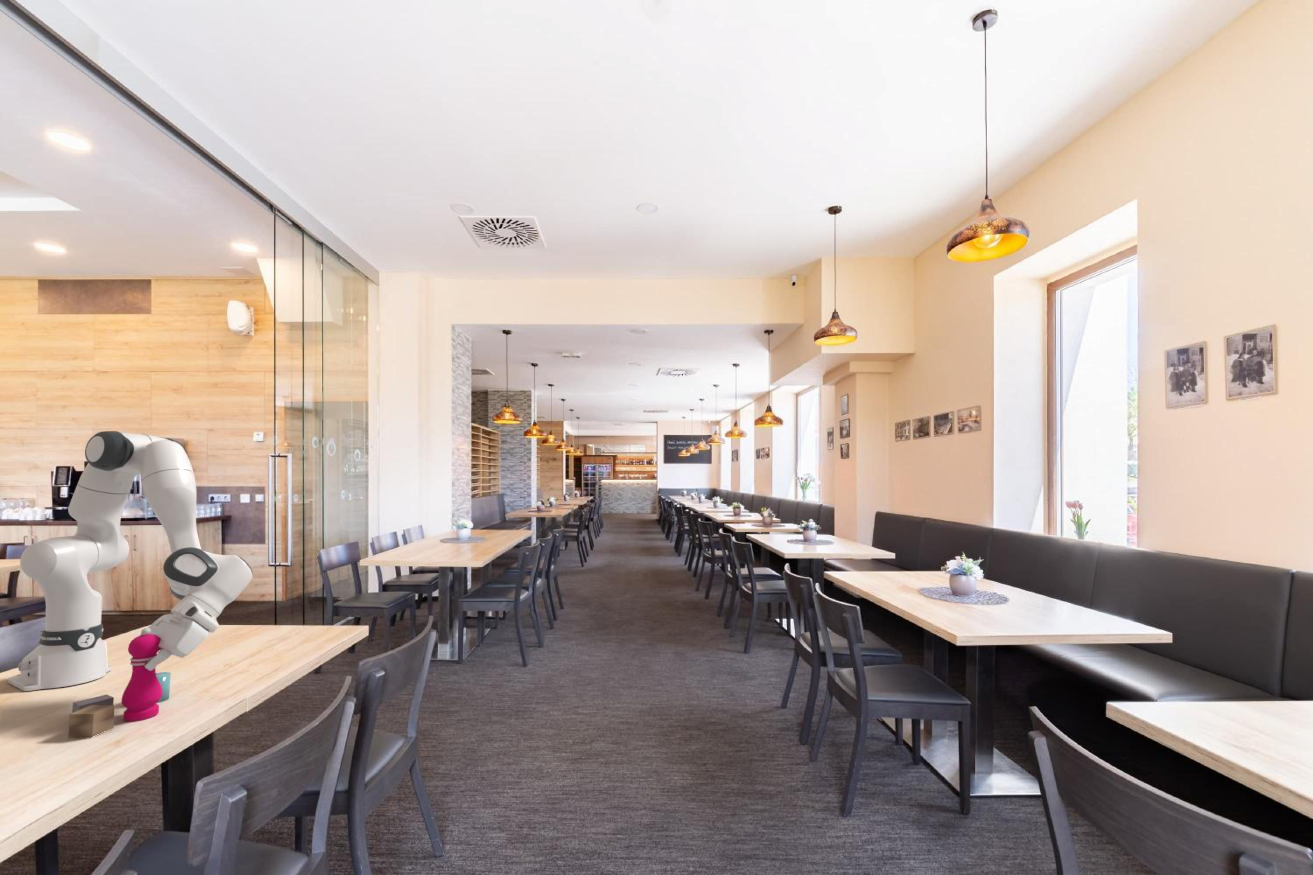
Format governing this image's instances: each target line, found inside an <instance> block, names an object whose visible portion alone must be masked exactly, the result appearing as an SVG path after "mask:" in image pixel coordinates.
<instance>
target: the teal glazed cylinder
mask: <svg viewBox="0 0 1313 875" xmlns="http://www.w3.org/2000/svg"><path fill="white" fill-rule="evenodd" d="M171 675H172V674H171V672H169V671H168V672H167V671H163V672H156V676H157V679H158V681H159V682H160V684H161V687H162V697H161V699H160V700H159V701H158V702H157V703H156V704H158V703H162V702H165V701H167V700H169V699H170V693H171V692H170V690H171Z"/></svg>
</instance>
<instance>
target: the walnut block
mask: <svg viewBox="0 0 1313 875" xmlns="http://www.w3.org/2000/svg"><path fill="white" fill-rule="evenodd" d="M114 720H115V704H113V705H91V706H88V707H86V708H83V709H81V710H79V711H76V712H74V713H72V712H71V713H69V720H68V722H69V724H68V737H67V738H68V739H81V738H80V737H93V736H95V735H97V734H99V735H101V734H100V733H102V732H104V731H106V732H108V731H110V730H112V729H114ZM111 728H112V729H111ZM109 729H110V730H109ZM107 730H108V731H107ZM104 733H105V732H104ZM102 734H103V733H102ZM97 736H98V735H97ZM78 737H79V738H78ZM95 737H96V736H95ZM93 738H94V737H93Z"/></svg>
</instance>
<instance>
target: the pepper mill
mask: <svg viewBox="0 0 1313 875" xmlns="http://www.w3.org/2000/svg"><path fill="white" fill-rule="evenodd" d="M140 632H141V633H140V634H142V635H141V636H140V635H139V636H136V637H134V638H133V639H132V640H130V643H128V646H127V647H128V648H127V652H128V653H129V655H130V656H131V658H130V659H129V660H130V663H129V664H130V665H129V666H131V667H132V668H131V669H132V671H131V677H130V679H129V682H128V684H127V685H126V687H125V689H124V691H123V693H122V697H121V704H122V706H123V707H124V708H125V710H124V711H123V717H122V720H123V721H125V722H139V721H145V720H148V719H150V718H153V717H156V716H157V715H159V713H160V705H159V704H158V703H157V702H158V701H159V700H160V699H161V697H162V687H161V684H160V682H159V681H158V679H157V676H156V673H157V672H156V667H155V668H154V669H153V670H151V671H150V670H148V669H146V668H144V667H143V665H144V664H145V663H146V662H147V661H148V660H149V659H150V660H151V659H152V658H153V657H155V656H156V655H157V654H158V652H159V651H160V649H161V648H160V647H159V646H158V645H159V643H160V640H161V639H160V637H159V636H157V635H154V634H150V633H151V629H150V628H148V627H145V628H143V629H141V631H140Z"/></svg>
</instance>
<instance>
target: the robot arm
mask: <svg viewBox="0 0 1313 875" xmlns="http://www.w3.org/2000/svg"><path fill="white" fill-rule="evenodd" d="M84 456H85V460H86V461H87V465H85V468H84V469H83V470H82V473H81V475H80V477H79V480H78V482H77V485H76V486H75V489H74V492H73V494H72V498H71V500H70V503H69V505H68V507H67V509H68V511H67V512H68V514H69V516H70V517H71V518H73V519H74V520H75V521H76V524H77V525H76V526H77V528H76V532H75V533H74V535H68V536H67V535H65V536H58V537H57V536H56V537H50V538H47V539H43V540H41V541H38V542H35V543H32V544H30V545H28V546H27V547H26V548H25V549H24V551H23V552H22V554H21V557H20V558H19V559H20V561H19V562H20V568H21V571H22V572H23V573H24V575H26V576H27V577H29V578H31V579H33V580H34V581H35V582H36V583H37V584H38V585H39V587H40V589H41V591H42V593H43V596H44V602H45V622H44V630H42V631H41V630H40V633H41V634H39V636H40V638H39V642H38V644H39V645H37V646H36V647H35V648H34V649H33V650H31V652H30V653H28V654H27V655H26V656H24V657H23V658H22V660H21V661H20V662H19V663H18V669H17V670H18V671H19V672H20V674H19V673H18V674H16V675H13V676H11V677H8V678H7V683H8V684H10V685H11V686H14V687H15V688H18V689H19V690H21V691H23V692H31V691H37V690H44V689H57V688H62V687H70V686H75V685H80V684H84V683H88V682H91V681H96V680H98V679H100V678H103V677H104V676H106V675H107V673H109V672H110V671H112V670H113V666H112V665H108V649H107V648H108V647H107V642H106V641H105V640H103V639H102V638H103V632H104V624H103V623H102V614H103V613H102V612H103V611H102V610H103V595H102V594H101V593H100V592H99V591H97V590H95V589H93V588H92V587H91V585H90V583H89V580H88V574H95V573H101V572H105V571H107V570H110V569H113V568H115V567H118V566H119V565H122V564H123V563H124V562H125V561H126V560H127V558H128V556H129V553H130V545H129V543H128V541H127V539H126V538H125V537H124V536H123V535H122V530H121V520H122V519H121V518H122V515H123V512H124V509H125V505H126V503H127V500H128V497H129V496H130V492H131V489H132V486H133V483H134V480H135V479H136V477H137V476H138V475H139V476H140V482H141V487H142V490H143V494H144V496H145V498H146V501H147V503H148V504H149V506H150V508H151V510H152V512H153V513H154V515H155V516H156V518H157V520H158V521H159V523H160V524H161V526H162V528H163V529H164V531H165V533H166V535H167V540H168V543H169V548H170V551H171V554H170V555H169V556H168V557H166V559H165V560H164V562H163V574H164V576H165V579H166V581H167V583H168V585H169V589H170V592H171V594H172V595H173V597H175V598H176V599H178V600H179V601H178V602H177V603H176V604H175V605H174V606H173V608H171V609H170V613H167V614H163V615H162V616H159V618H157V619H156V620H155V621H154V622H152V623H151V624H150V625H149V626H147V628H150V629H151V633H150V634H154V635H157V636H159V637H160V639H161V640H160V643H159V645H158V646H159V647H160V648H161V649H160V650H159V651H158V652H157V655H156V656H155V657H153V658H152V659H151V660H150V659H149V660H148V661H147V662H146V663H145V664H144V665H143V667H144V668H146V669H148V670H150V671H151V670H153V669H154V668H155V669H156V667H157V666H158V665H160V664H161V663H163V662H164V661H166V660H168V659H169V658H170V657H171V656H175V657H177V658H178V657H179V658H181V659H182V658H185V657H187V656H189V655H190V654H192V652H193V651H194V650H196V649H197V648H198V647H199V646H200V645H201V644H202V643H203V642H204V640H206V639H207V637H208V636H209V634H212V633H214V632H215V631H216V630H217V629H219V627H220V624H219V622H218V621H217V620H218V619H217V618H218V617H219V616H220V615H221V613H222V612H223V610H224V609H225V607H226V606H228V605H229V604H231V603H232V602H233V601H235V600H236V598H237V597H239V596H240V594H241V593H242V592H243V591H244V590H245V589H246V588H247V586H248V585H249V584H250V582H252V579H253V569H252V567H251V566H250V565H249V563H248V562H247V561H246V560H245V559H243V557H241V556H240V555H238V554H227V555H226V554H219V553H218V554H217V553H213V552H209V551H205V550H202V547H201V543H200V537H199V534H198V530H197V497H198V496H197V494H198V493H197V492H198V491H197V482H196V476H195V473H194V470H193V465H192V463H191V461H190V459H189V456H188V453H187V449H186V447H185V445H184V444H183V443H182V442H180V441H178V440H176V439H171V438H167V437H166V438H165V437H162V436H161V437H160V436H157V435H152V434H147V433H135V432H120V431H118V430H117V431H116V430H105V431H103V430H102V431H99V432H97V433H95V434H93V435H92V436H91V437H90V439H89V440H88V441H87V443H86V445H85V448H84ZM141 635H142V634H141V633H140V634H139V636H141Z"/></svg>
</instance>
